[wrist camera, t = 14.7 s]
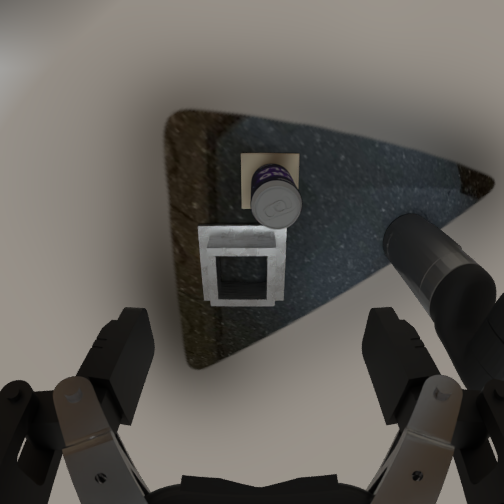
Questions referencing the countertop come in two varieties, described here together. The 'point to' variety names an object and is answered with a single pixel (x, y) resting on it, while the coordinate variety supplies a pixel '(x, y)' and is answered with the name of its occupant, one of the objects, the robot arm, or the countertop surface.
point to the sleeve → (242, 244)
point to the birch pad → (256, 160)
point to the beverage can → (274, 197)
